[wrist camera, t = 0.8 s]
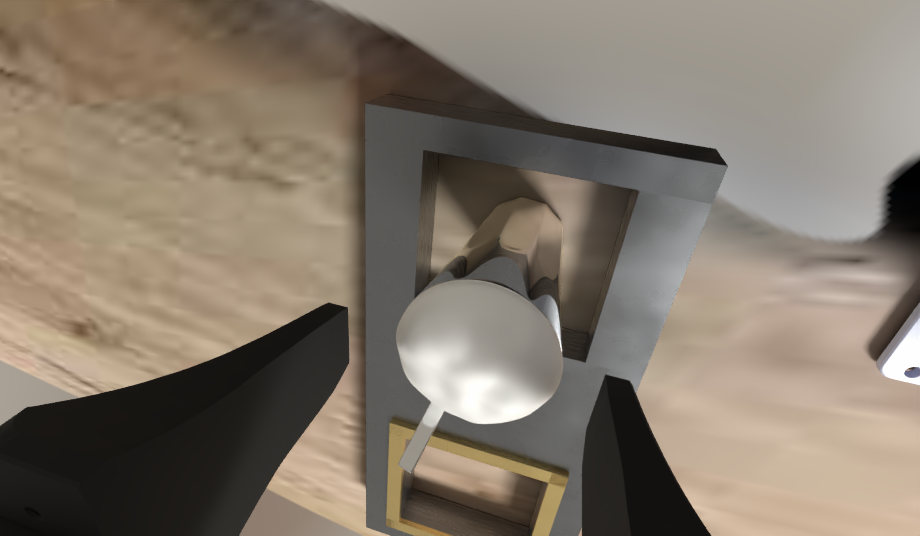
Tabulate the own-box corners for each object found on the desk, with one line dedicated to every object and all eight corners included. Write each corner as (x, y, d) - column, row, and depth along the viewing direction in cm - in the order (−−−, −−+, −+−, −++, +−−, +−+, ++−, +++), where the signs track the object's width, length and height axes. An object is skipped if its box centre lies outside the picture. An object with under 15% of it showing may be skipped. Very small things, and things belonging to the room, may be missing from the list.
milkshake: (444, 257, 21) (332, 424, 13) (506, 158, 18) (414, 291, 10) (529, 312, 21) (473, 513, 13) (604, 222, 18) (596, 407, 10)
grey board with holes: (715, 149, 16) (729, 168, 14) (558, 560, 29) (554, 599, 27) (387, 94, 18) (361, 104, 16) (379, 499, 32) (364, 531, 30)
